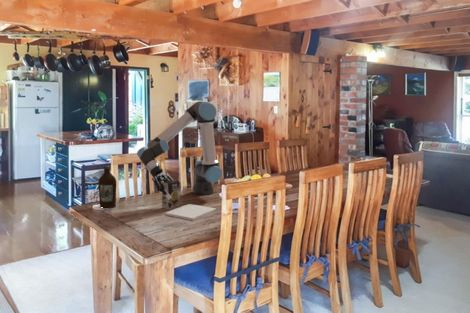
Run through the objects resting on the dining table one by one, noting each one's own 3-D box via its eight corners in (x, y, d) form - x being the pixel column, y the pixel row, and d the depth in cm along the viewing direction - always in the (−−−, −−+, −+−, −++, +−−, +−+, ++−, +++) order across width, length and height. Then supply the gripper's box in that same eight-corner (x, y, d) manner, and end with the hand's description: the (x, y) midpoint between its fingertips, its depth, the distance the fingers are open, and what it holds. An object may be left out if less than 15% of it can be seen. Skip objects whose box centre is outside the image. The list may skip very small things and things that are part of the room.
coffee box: (169, 209, 256) (169, 183, 254) (161, 207, 260) (161, 182, 258) (180, 206, 263) (180, 181, 261) (172, 204, 267) (172, 179, 265)
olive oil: (100, 204, 265) (99, 165, 261) (118, 204, 266) (117, 164, 262) (97, 209, 254) (96, 168, 251) (115, 208, 256) (114, 167, 252)
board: (188, 205, 266) (188, 203, 266) (216, 210, 257) (216, 208, 256) (164, 214, 245) (164, 212, 245) (193, 220, 236) (193, 218, 236)
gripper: (162, 169, 276) (182, 197, 270) (139, 175, 256) (160, 204, 251) (169, 162, 272) (189, 189, 267) (146, 167, 253) (167, 197, 248)
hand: (175, 197), depth 259 cm, fingers closed on coffee box, 9 cm apart
